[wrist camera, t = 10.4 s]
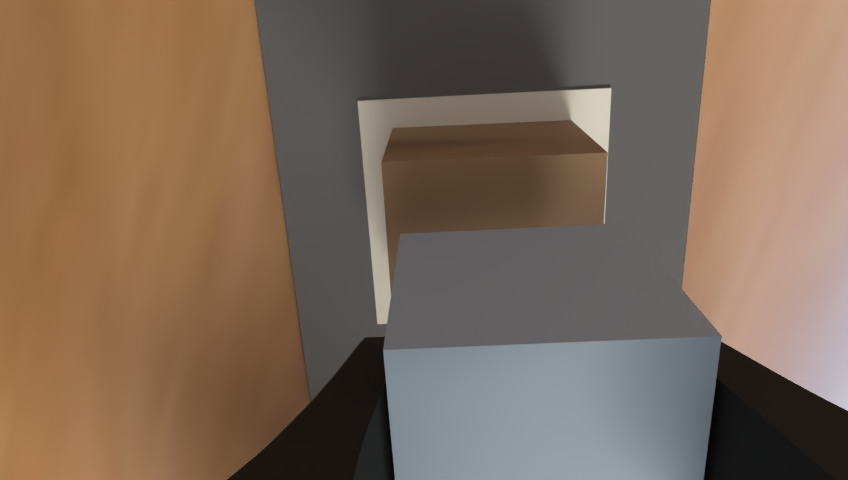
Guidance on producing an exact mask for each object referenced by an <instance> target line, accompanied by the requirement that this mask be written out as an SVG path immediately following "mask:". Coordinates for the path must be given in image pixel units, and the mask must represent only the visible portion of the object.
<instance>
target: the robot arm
mask: <svg viewBox="0 0 848 480" xmlns="http://www.w3.org/2000/svg"><path fill="white" fill-rule="evenodd" d="M384 340H385V337H365V338H364V339H363V340H362V341H361V342H360V343H359V344H358V345H357V347H356V348H355V349H354V350H353V352H352V353H351V354H350V356H349V357H348V358H347V359H346V361H345V362H344V363H343V364H342V366H341V367H340V368H339V369H338V371H337V372H336V373H335V374H334V376H333V377H332V378H331V379H330V380H329V382H328V383H327V384H326V385H325V386H324V387H323V388H322V390H321V391H320V392H319V393H318V394H317V395H316V396H315V398H314V399H313V400H312V401H311V402H310V403H309V404H308V405H307V407H306V408H305V409H304V410H303V411H302V412H301V413H300V414H299V415H298V416H297V417H296V418H295V419H294V420H293V421H292V422H291V423H290V424H289V425H288V426H287V427H286V428H285V429H284V430H283V431H282V432H281V433H280V434H279V435H278V436H277V437H276V438H275V439H274V440H273V441H272V442H271V443H270V444H269V445H268V446H267V447H266V448H265V449H263V450H262V451H261V452H260V453H259V454H258V455H257V456H255V457H254V458H253V459H252V460H251V461H249V462H248V463H247V464H246V465H245V466H243V467H242V468H241V469H240V470H238V471H237V472H236V473H235V474H233V475H232V476H231V477H230V478H229V479H227V480H395V475H394V464H393V453H392V442H391V431H390V420H389V409H388V398H387V388H386V377H385V366H384V355H383V347H384ZM704 480H848V411H847V410H845V409H843V408H841V407H839V406H837V405H835V404H833V403H831V402H829V401H827V400H825V399H823V398H821V397H819V396H817V395H816V394H814V393H812V392H810V391H808V390H806V389H804V388H802V387H801V386H799V385H797V384H795V383H793V382H791V381H790V380H788V379H786V378H784V377H782V376H781V375H779V374H777V373H775V372H773V371H772V370H770V369H768V368H766V367H765V366H763V365H761V364H759V363H758V362H756V361H754V360H752V359H751V358H749V357H747V356H745V355H744V354H742V353H740V352H738V351H737V350H735V349H733V348H731V347H730V346H728V345H726V344H724V343H723V342H721V346H720V354H719V362H718V370H717V377H716V385H715V393H714V401H713V409H712V417H711V425H710V433H709V441H708V448H707V456H706V464H705V472H704Z"/></svg>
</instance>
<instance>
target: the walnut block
mask: <svg viewBox="0 0 848 480" xmlns="http://www.w3.org/2000/svg"><path fill="white" fill-rule="evenodd" d="M607 157H608V152H607V151H605V150H604V149H603V148H602V147H601V146H600V145H599V144H598V143H596V142H595V141H594V140H593V139H592V138H591V137H590V136H589V135H587V134H586V133H585V132H584V131H583V130H582V129H581V128H580V127H579V126H577V125H576V124H575V123H574V122H573V121H572V120H562V121H539V122H516V123H493V124H470V125H447V126H424V127H401V128H393V129H392V132H391V135H390V138H389V141H388V144H387V147H386V150H385V152H384V155H383V158H382V161H381V165H382V179H383V193H384V207H385V220H386V234H387V248H388V262H389V275H390V289H391V293H392V286H393V279H394V272H395V266H396V259H397V252H398V245H399V238H400V234H410V233H431V232H452V231H473V230H494V229H515V228H536V227H557V226H578V225H599V224H604V209H605V192H606V175H607Z"/></svg>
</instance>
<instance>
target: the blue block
mask: <svg viewBox="0 0 848 480" xmlns="http://www.w3.org/2000/svg"><path fill="white" fill-rule="evenodd" d="M721 338H722V336H721V335H720V333H719V332H718V331H717V330H716V329H715V328H714V326H713V325H712V324H711V323H710V322H709V321H708V319H707V318H706V317H705V316H704V315H703V313H702V312H701V311H700V310H699V309H698V308H697V306H696V305H695V304H694V303H693V302H692V301H691V299H690V298H689V297H688V296H687V295H686V294H685V292H684V291H683V290H682V289H681V288H680V287H679V285H678V284H677V283H676V282H675V281H674V279H673V278H672V277H671V276H670V275H669V274H668V272H667V271H666V270H665V269H664V268H663V267H662V265H661V264H660V263H659V262H658V261H657V260H656V258H655V257H654V256H653V255H652V254H651V253H650V251H649V250H648V249H647V248H646V247H645V245H644V244H643V243H642V242H641V241H640V240H639V238H638V237H637V236H636V235H635V234H634V233H633V231H632V230H631V229H630V228H629V227H628V226H627V224H626V223H620V224H599V225H578V226H557V227H536V228H515V229H494V230H473V231H452V232H431V233H410V234H400V238H399V245H398V252H397V259H396V266H395V272H394V279H393V286H392V293H391V300H390V306H389V313H388V320H387V327H386V334H385V340H384V347H383V355H384V366H385V377H386V388H387V398H388V409H389V420H390V431H391V442H392V453H393V464H394V475H395V480H704V472H705V464H706V456H707V448H708V441H709V433H710V425H711V417H712V409H713V401H714V393H715V385H716V377H717V370H718V362H719V354H720V346H721Z"/></svg>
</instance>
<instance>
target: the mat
mask: <svg viewBox="0 0 848 480" xmlns="http://www.w3.org/2000/svg"><path fill="white" fill-rule="evenodd" d="M710 5H711V0H255V6H256V13H257V21H258V28H259V35H260V42H261V49H262V57H263V64H264V71H265V78H266V85H267V92H268V100H269V107H270V114H271V121H272V128H273V136H274V143H275V150H276V157H277V164H278V171H279V179H280V186H281V193H282V200H283V207H284V215H285V222H286V229H287V236H288V243H289V251H290V258H291V265H292V272H293V279H294V286H295V294H296V301H297V308H298V315H299V322H300V330H301V337H302V344H303V351H304V358H305V365H306V373H307V380H308V387H309V394H310V401H312V400H313V399H314V398H315V396H316V395H317V394H318V393H319V392H320V391H321V390H322V388H323V387H324V386H325V385H326V384H327V383H328V382H329V380H330V379H331V378H332V377H333V376H334V374H335V373H336V372H337V371H338V369H339V368H340V367H341V366H342V364H343V363H344V362H345V361H346V359H347V358H348V357H349V356H350V354H351V353H352V352H353V350H354V349H355V348H356V347H357V345H358V344H359V343H360V342H361V341H362V340H363V339H364V338H365V337H385V334H386V327H387V320H388V313H389V306H390V300H391V289H390V275H389V262H388V248H387V234H386V220H385V207H384V193H383V179H382V165H381V161H382V158H383V155H384V152H385V150H386V147H387V144H388V141H389V138H390V135H391V132H392V129H393V128H401V127H424V126H447V125H470V124H493V123H516V122H539V121H562V120H572V121H573V122H574V123H575V124H576V125H577V126H579V127H580V128H581V129H582V130H583V131H584V132H585V133H586V134H587V135H589V136H590V137H591V138H592V139H593V140H594V141H595V142H596V143H598V144H599V145H600V146H601V147H602V148H603V149H604V150H605V151H607V152H608V157H607V175H606V192H605V209H604V224H620V223H626V224H627V226H628V227H629V228H630V229H631V230H632V231H633V233H634V234H635V235H636V236H637V237H638V238H639V240H640V241H641V242H642V243H643V244H644V245H645V247H646V248H647V249H648V250H649V251H650V253H651V254H652V255H653V256H654V257H655V258H656V260H657V261H658V262H659V263H660V264H661V265H662V267H663V268H664V269H665V270H666V271H667V272H668V274H669V275H670V276H671V277H672V278H673V279H674V281H675V282H676V283H677V284H678V285H679V287H680V288H681V289H682V281H683V271H684V261H685V251H686V242H687V232H688V222H689V212H690V202H691V192H692V182H693V173H694V163H695V153H696V143H697V133H698V123H699V113H700V104H701V94H702V84H703V74H704V64H705V54H706V45H707V35H708V25H709V15H710Z"/></svg>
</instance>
